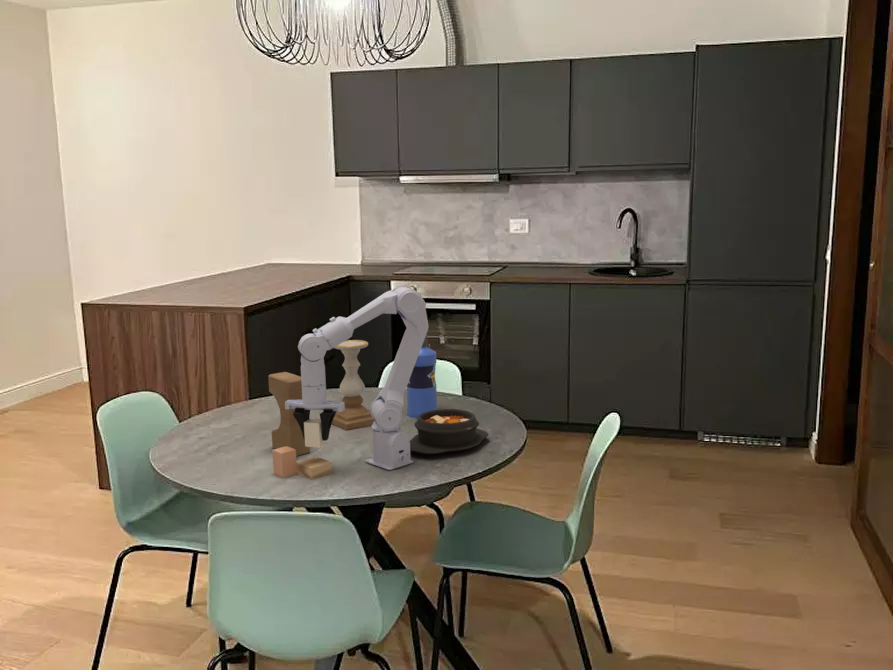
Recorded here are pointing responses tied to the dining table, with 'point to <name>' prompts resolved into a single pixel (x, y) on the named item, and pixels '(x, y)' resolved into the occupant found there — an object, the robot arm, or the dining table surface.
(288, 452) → the terracotta cube
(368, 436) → the dining table surface
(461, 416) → the casserole
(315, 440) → the cream cube
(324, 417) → the robot arm
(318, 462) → the oak block
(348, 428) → the candle holder
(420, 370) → the water bottle
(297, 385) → the decorative block
